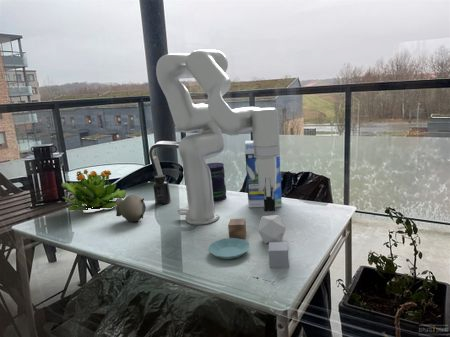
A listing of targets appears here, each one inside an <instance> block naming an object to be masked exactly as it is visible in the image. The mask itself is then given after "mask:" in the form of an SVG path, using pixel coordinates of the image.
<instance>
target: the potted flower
mask: <svg viewBox="0 0 450 337" xmlns="http://www.w3.org/2000/svg"><path fill="white" fill-rule="evenodd" d="M89 172H90V173H89ZM85 175H86V176H87V179H86V176H85ZM111 175H112V172H111V171H110V170H106V169H105V170H104V171H102V172H100V174H97V172H96V171H95V170H93V171H88V169H86V168H85V169H84V170H83V172H81V170H79V171H77V172H76V178H75V180H77V181H78V182H69V183H68V182H62V183H61V188H64V189H67V190H68V192H70V193H71V194H72V195H73V196H72V197H73V198H74V200H73V199H70V198H67V197H66V196H61V198H63V199H64V200H65V201H67V202H68V203H69V204H71V205H70V206H68V209H67V210H68V211H82V210H88V208H91V209H100V208H112V207H113V208H115V207H116V205H117V202H116V199H117V198H118V199H119V198H122V200H124V199H125V198H126V195H127V193H128V191H127V190H124V189H123V190H121V189H120V188H117V189H116V187H117V183H113V184H112V183H111V182H108V180H109V179H110V176H111ZM106 182H107V184H106ZM115 189H116V190H115ZM86 205H87V206H86ZM92 207H93V208H92ZM86 208H87V209H86ZM113 208H112V209H113Z"/></svg>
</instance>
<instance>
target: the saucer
mask: <svg viewBox="0 0 450 337" xmlns="http://www.w3.org/2000/svg"><path fill="white" fill-rule="evenodd" d="M249 248H250V244H249V243H248V241H246V240H245V239H238V238H229V237H227V238H221V239H218V240H215V241H213V242H212V243H211V244H210V245H209V246H208V252H209V253H210V254H212V255H213V256H214V257H217V258H219V259H223V260H233V259H236V258H239V257H241V256H242V255H245V253H246V252H247V251H248V250H249Z"/></svg>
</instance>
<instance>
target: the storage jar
mask: <svg viewBox="0 0 450 337" xmlns="http://www.w3.org/2000/svg"><path fill="white" fill-rule="evenodd" d="M206 164H207V165H208V167H209V169H210V172H211V179H212V190H213V200H214V203H217V202H221V201H222V202H223V201H224V200H226V199H227V187H226V184H225V183H226V181H225V177H226V176H225V167H224V166H225V165H224V164H225V163H223V162H209V163H206Z"/></svg>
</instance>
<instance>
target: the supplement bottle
mask: <svg viewBox="0 0 450 337" xmlns="http://www.w3.org/2000/svg"><path fill="white" fill-rule="evenodd" d="M153 180H154V183H153V184H152V189H153V196H154V202H155V204H156V203H157V204H156V205H158V204H162V205H166V204H169V203H171V202H172V199H171V192H170V185H169V184H170V183H169V182H168V181H167V178H166V175H165V174H159V175H155V176H154V178H153Z"/></svg>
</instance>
